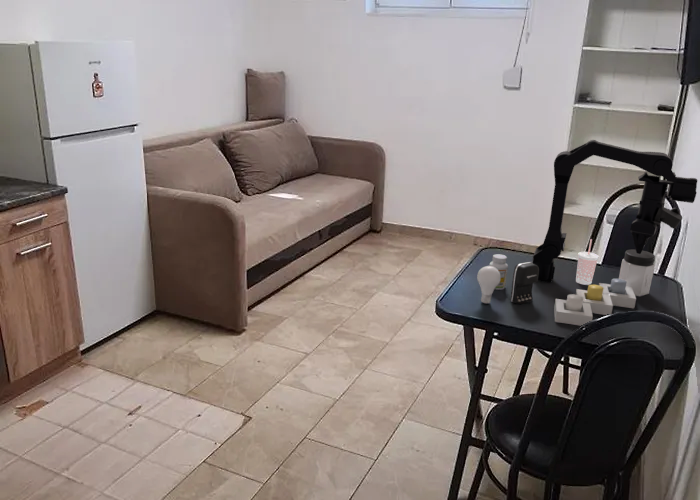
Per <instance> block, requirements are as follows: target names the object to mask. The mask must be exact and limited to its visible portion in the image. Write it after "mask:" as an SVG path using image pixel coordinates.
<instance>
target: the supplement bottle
mask: <svg viewBox="0 0 700 500" xmlns="http://www.w3.org/2000/svg"><path fill="white" fill-rule="evenodd" d="M507 259H508V257H507V256H506V255H504V254H501V253H500V254H499V253H498V254H493V255H492V261H490V263H489V265H488V266H493V267H495V268H496V269H498V271H499V272H500V275H501V280H500V283H499V284H498V285H497V286H496V288H495V289H494V291H495V290H497V291H498V290H504V289H505V288H506V282H507V277H508V275H507V274H508V268H509V265H508V263H506V262H507Z"/></svg>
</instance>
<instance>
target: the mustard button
mask: <svg viewBox="0 0 700 500" xmlns="http://www.w3.org/2000/svg"><path fill="white" fill-rule="evenodd" d="M603 289H604V288H603V287H602V286H599V284H590V285H587V296H586V299H588V300H595V301H601V299H602V294H603Z"/></svg>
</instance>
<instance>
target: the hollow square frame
mask: <svg viewBox="0 0 700 500" xmlns="http://www.w3.org/2000/svg"><path fill="white" fill-rule="evenodd" d="M587 291H588V289H587V290H585V289H578V288H576V289H575V293H574V294H575V295H579V296H582V297H583V303H589V304H590V306H591V311H592V314H598V315H603V316H608V315H607V314H611V315H612V313H613V308H614V305H613V304H612V301H611V297H610V295H606V294H605V293H604V294H602V299H601V301H595V300H588V299H586V296H587Z"/></svg>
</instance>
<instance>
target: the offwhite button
mask: <svg viewBox="0 0 700 500" xmlns="http://www.w3.org/2000/svg"><path fill="white" fill-rule="evenodd" d="M566 297H567V298H566V300H567V302H566V308H565V310H570V311H577V312H581V309H582V303H583V297H582V296H579V295H575V293H573V294H572V293H569V294H567V296H566Z"/></svg>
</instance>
